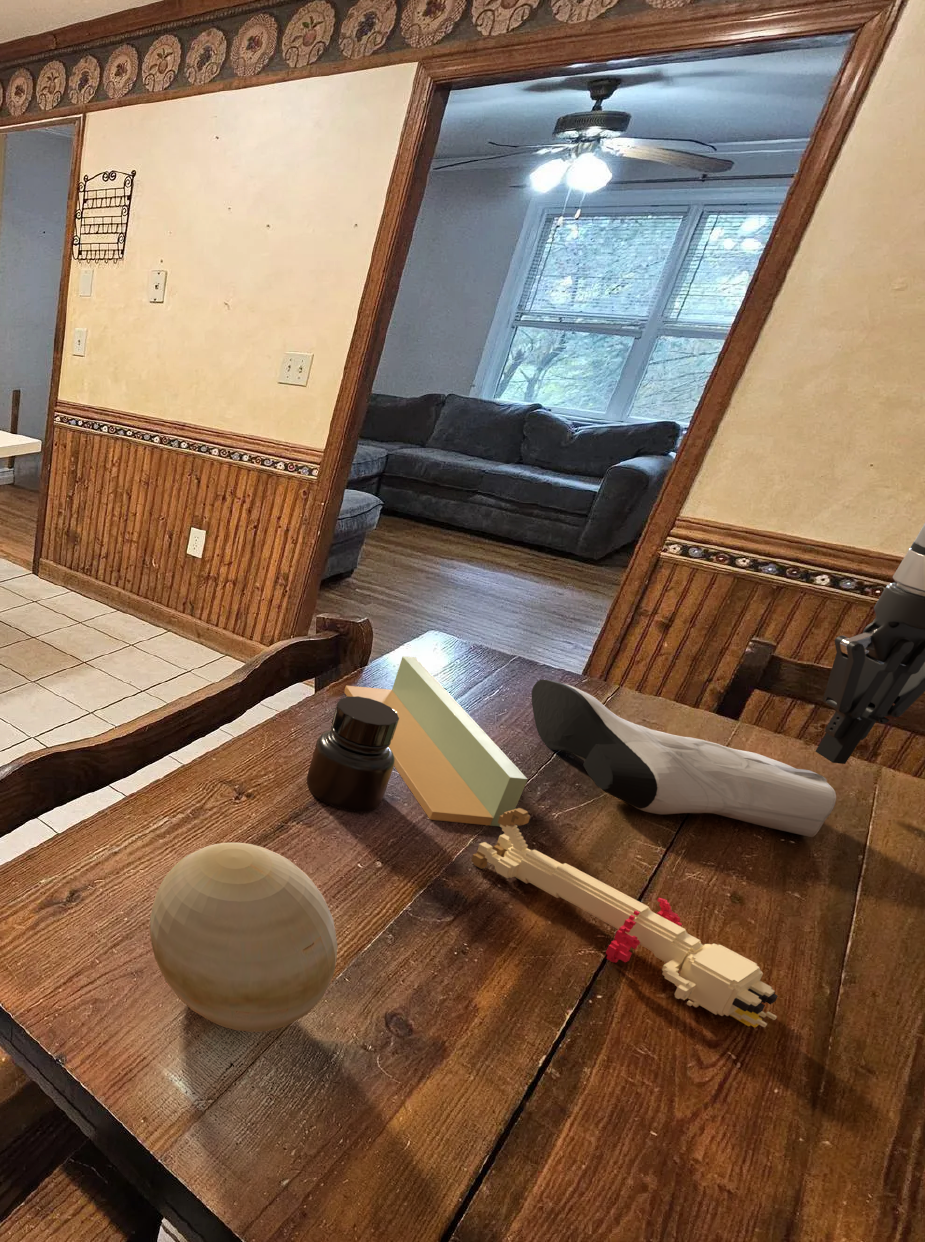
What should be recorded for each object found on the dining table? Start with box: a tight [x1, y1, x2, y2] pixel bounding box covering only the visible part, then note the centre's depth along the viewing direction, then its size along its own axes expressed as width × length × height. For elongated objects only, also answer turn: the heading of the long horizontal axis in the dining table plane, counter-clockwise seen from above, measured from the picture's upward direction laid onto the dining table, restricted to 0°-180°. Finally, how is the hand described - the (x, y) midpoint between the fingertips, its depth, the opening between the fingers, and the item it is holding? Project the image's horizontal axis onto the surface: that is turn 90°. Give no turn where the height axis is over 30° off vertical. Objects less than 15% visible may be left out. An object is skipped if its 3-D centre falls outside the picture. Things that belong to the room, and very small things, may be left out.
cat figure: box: [470, 807, 779, 1029], centre depth 78 cm, size 10×9×25 cm
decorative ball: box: [149, 841, 338, 1033], centre depth 67 cm, size 15×15×15 cm
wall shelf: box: [343, 656, 529, 827], centre depth 108 cm, size 9×32×7 cm, turn 174°
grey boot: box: [531, 678, 837, 838], centre depth 105 cm, size 10×28×25 cm
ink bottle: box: [306, 696, 399, 813], centre depth 97 cm, size 10×9×12 cm
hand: (830, 757), depth 104 cm, fingers closed
